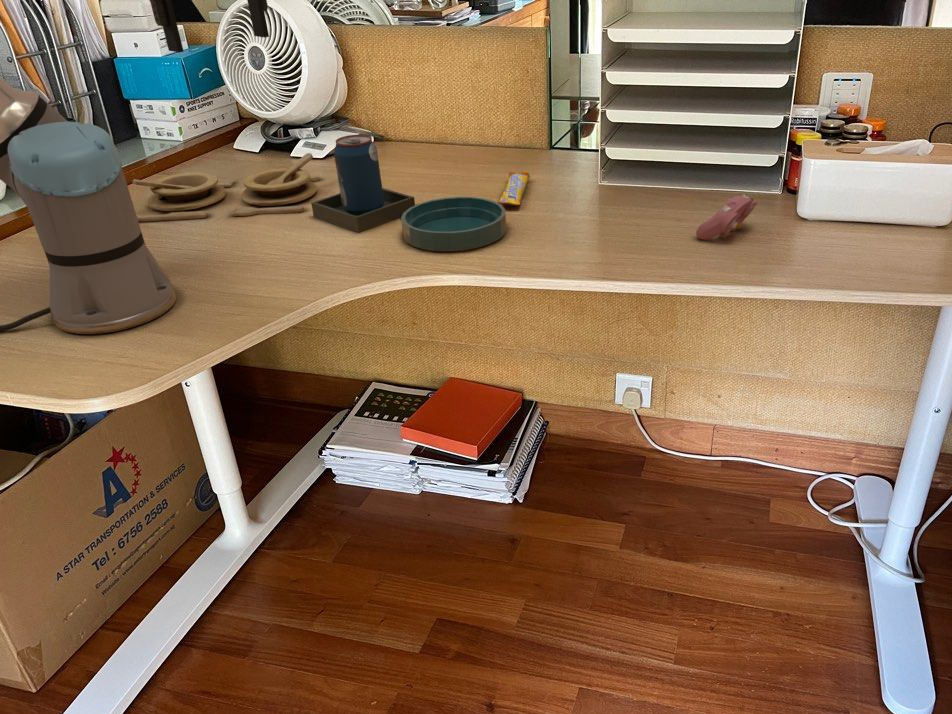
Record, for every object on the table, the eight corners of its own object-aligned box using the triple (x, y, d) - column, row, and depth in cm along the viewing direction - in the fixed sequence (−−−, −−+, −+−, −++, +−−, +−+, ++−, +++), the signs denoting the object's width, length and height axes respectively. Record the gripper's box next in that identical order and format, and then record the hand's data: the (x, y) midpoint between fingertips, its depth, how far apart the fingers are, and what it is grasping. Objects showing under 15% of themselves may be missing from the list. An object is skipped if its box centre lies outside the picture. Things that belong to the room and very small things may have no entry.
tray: (358, 232, 134) (356, 217, 133) (313, 217, 141) (310, 202, 140) (416, 211, 142) (414, 197, 140) (370, 197, 149) (368, 183, 147)
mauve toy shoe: (714, 253, 126) (738, 217, 121) (691, 235, 127) (713, 198, 122) (743, 233, 132) (767, 198, 127) (721, 216, 133) (743, 180, 128)
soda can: (393, 207, 142) (383, 135, 136) (368, 220, 137) (357, 147, 131) (361, 202, 145) (350, 131, 139) (335, 215, 140) (322, 142, 134)
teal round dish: (454, 261, 123) (452, 241, 121) (382, 237, 132) (379, 217, 130) (527, 229, 133) (527, 209, 131) (456, 208, 142) (454, 190, 140)
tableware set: (132, 223, 142) (121, 188, 139) (167, 186, 158) (158, 154, 155) (309, 212, 143) (302, 178, 140) (325, 177, 160) (319, 145, 156)
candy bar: (508, 180, 154) (508, 169, 153) (531, 180, 154) (531, 169, 153) (495, 211, 140) (494, 200, 139) (519, 211, 140) (519, 200, 139)
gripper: (98, -132, 98) (150, 60, 110) (280, -137, 114) (308, 32, 125) (71, -130, 102) (123, 55, 114) (249, -135, 118) (280, 28, 129)
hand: (220, 43), depth 120 cm, fingers open, 13 cm apart
